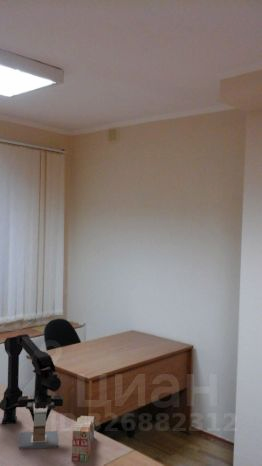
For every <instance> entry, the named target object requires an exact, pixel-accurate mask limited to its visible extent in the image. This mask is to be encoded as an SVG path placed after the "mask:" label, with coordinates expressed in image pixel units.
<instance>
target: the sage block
mask: <svg viewBox="0 0 262 466" xmlns="http://www.w3.org/2000/svg"><path fill="white" fill-rule="evenodd" d="M46 412H47V408H45V409H43V408H38V409H34V422H33V427H34V426H45V427H46V424H47V421H46Z"/></svg>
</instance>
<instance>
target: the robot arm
mask: <svg viewBox="0 0 262 466" xmlns="http://www.w3.org/2000/svg"><path fill="white" fill-rule="evenodd" d="M3 346H4V352H5V353H6V354H7V360H8V361H7V387H6V389H5V391H4V392H3V398H2V399H1V400H0V410H2V411H3V417H2V421H1V424H16V423H17V420H18V416H17V408H25V409H27V410H29V413H30V415H31V418H32V422H33V423H34V410H37V409H46V422H47V420H48V419H49V416H50V414H51V411H52V409H55V408H56V407H63V405H64V397H63V395H62V394H60V395H53V396H52V395H50V394H49V391H50V392H57V391H58V390H59V389H60V388H61V385H62V381H61V378H60V377H58V374H57V373H56V371H57V370H56V365H55V364H54V361H53V358H52V356H51V355H50V354H49V353H48V352H46V351H44V350H43V351H42V350H41V349H40V348H39V347H38V345H36V344H35V342H34V341H33V340H32V339H31V338H30V335H29V334H27V333H22V334H18V335H16V336H9V337H6V339H4V342H3ZM23 350H24V351H25V352H26V354H27V355H28V356H29V357H30V358H31V364H32V366H33V368H34V369H33V370H32V372H33V373H35V376H34V377H35V378H34V393H33V394H34V396H33V398H29V396H28V395H23V393H24V392H23V390H21V389H20V386H19V377H20V376H19V375H20V374H19V373H20V370H19V369H20V368H19V367H20V354H22V352H23Z"/></svg>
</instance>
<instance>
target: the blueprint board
mask: <svg viewBox="0 0 262 466" xmlns="http://www.w3.org/2000/svg"><path fill="white" fill-rule="evenodd" d="M19 435H20V437H19V441H18V442H19V443H18V444H19V445H18V450H30V449H32V450H33V449H48V448H49V449H50V448H59V435H58V430H54V431H53V430H51V431H50V430H49V431H48V430H45V441H33V431H27V432H26V431H24V432H21V431H20V434H19Z"/></svg>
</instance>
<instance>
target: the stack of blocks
mask: <svg viewBox="0 0 262 466" xmlns="http://www.w3.org/2000/svg"><path fill="white" fill-rule="evenodd" d="M94 437H95V416H94V415H93V416H92V415H90V416H89V415H80V416H79V417H77V420H76V423H75V425H74V427H73V430H72V441H71V443H72V444H71V447H72V448H71V462H83V463H84V462H85V463H87V462H88V459H89V456H90V453H91V448H92V444H93V441H94Z"/></svg>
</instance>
